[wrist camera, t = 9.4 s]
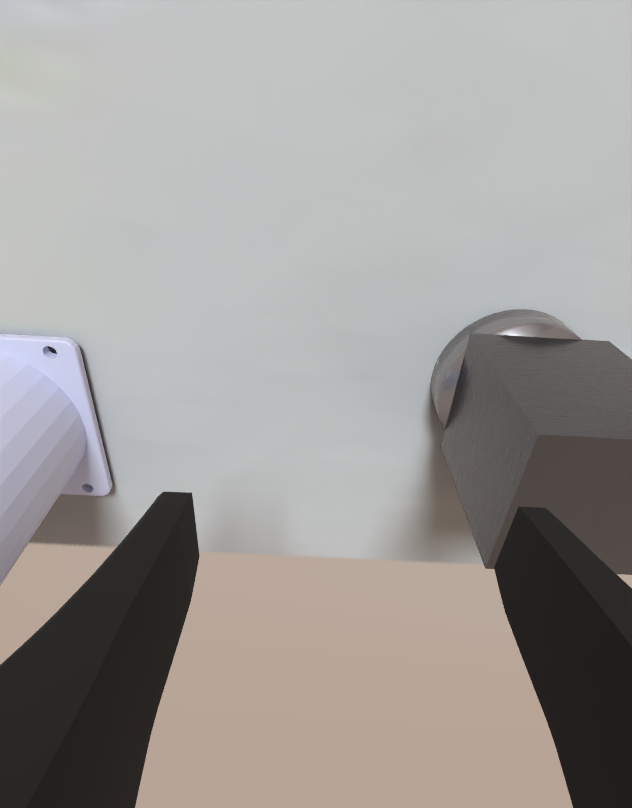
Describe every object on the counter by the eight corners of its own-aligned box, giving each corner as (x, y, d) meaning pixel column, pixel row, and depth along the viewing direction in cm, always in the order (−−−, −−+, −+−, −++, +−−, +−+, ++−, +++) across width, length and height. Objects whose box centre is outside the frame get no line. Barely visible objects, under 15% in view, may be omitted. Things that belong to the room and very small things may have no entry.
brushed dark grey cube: (440, 445, 19) (485, 568, 14) (469, 333, 16) (539, 434, 11) (560, 452, 19) (647, 575, 14) (609, 341, 17) (737, 444, 12)
